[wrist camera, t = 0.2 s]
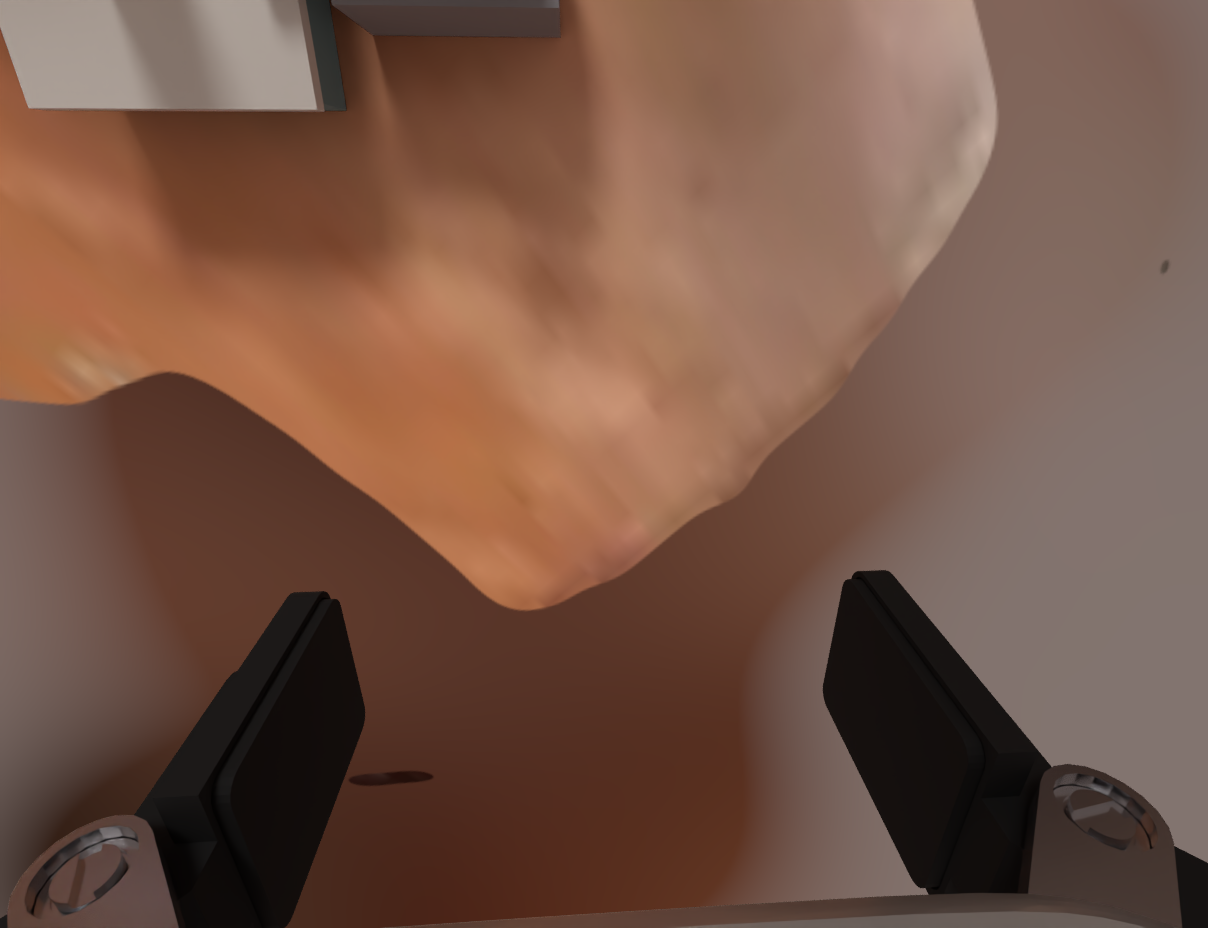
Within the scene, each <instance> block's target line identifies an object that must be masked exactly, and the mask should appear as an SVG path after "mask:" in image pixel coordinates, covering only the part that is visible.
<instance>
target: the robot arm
mask: <svg viewBox="0 0 1208 928" xmlns="http://www.w3.org/2000/svg"><path fill="white" fill-rule="evenodd" d="M823 696H824V700H825V704H826V706H827V708H828V710H829V712H830V715H831V716H832V718H833V721H834V723H835V725H836V727H837V729H838V731H839V733H840V735H841V737H842V739H843V741H844V743H845V745H846V747H847V749H848V751H849V753H850V755H851V757H852V759H853V761H854V763H855V765H856V767H857V769H858V771H859V773H860V775H861V777H862V779H863V781H864V783H865V785H866V788H867V789H868V791H869V793H870V796H871V798H872V800H873V802H874V804H875V806H876V808H877V810H878V812H879V814H880V816H881V818H882V820H883V822H884V824H885V826H886V828H887V830H888V832H889V834H890V836H891V838H892V840H893V842H894V844H895V846H896V848H897V850H898V852H899V854H900V857H901V859H902V861H903V863H904V864H905V867H906V869H907V871H908V873H909V875H910V877H911V878H912V880H913V882H914V883H915V884H916V885H917V886H918V887H920V888H926V890H927V892H928V894H929V895H910V896H884V897H865V898H847V899H830V900H812V901H795V902H778V903H761V904H742V905H725V906H709V907H694V908H678V909H661V910H645V911H629V912H614V913H599V914H582V915H566V916H551V917H536V918H520V919H506V920H491V921H477V922H462V923H450V924H449V923H448V924H434V925H419V926H405V927H391V928H1208V863H1207V862H1205V861H1203V860H1201V859H1199V858H1197V857H1195V856H1193V855H1191V854H1189V853H1187V852H1185V851H1183V850H1181V849H1179V848H1177V847H1175V846H1174V842H1173V839H1172V835H1171V832H1170V830H1169V827H1168V825H1167V824H1166V823H1165V821H1164V819H1163V818H1162V817H1161V815H1160V814H1159V812H1158V811H1157V810H1156V809H1155V808H1154V807H1153V806H1152V805H1151V804H1150V803H1149V802H1148V801H1147V800H1146V799H1145V798H1144V797H1143V796H1142V795H1140V794H1139V793H1137V792H1136V791H1134V790H1133V789H1132V788H1130V787H1129V786H1127V785H1126V784H1125V783H1123V782H1121V781H1119V780H1117V779H1115V778H1113V777H1111V776H1109V775H1107V774H1106V773H1103V772H1100V771H1097V770H1094V769H1091V768H1088V767H1085V766H1079V765H1071V764H1064V765H1058V766H1053V767H1051V766H1050V764H1049V763H1048V762H1047V761H1046V760H1045V758H1044V757H1043V756H1042V755H1041V753H1040V752H1039V751H1038V750H1037V749H1036V748H1035V746H1034V745H1033V744H1032V743H1031V741H1030V740H1029V739H1028V738H1027V737H1026V735H1025V734H1024V733H1023V732H1022V731H1021V729H1020V728H1019V727H1018V726H1017V724H1016V723H1015V722H1014V721H1013V720H1012V718H1011V717H1010V716H1009V715H1008V714H1007V713H1006V711H1005V710H1004V709H1003V708H1002V706H1001V705H1000V704H999V703H998V701H997V700H996V699H995V698H994V697H993V695H992V694H991V693H990V692H989V691H988V689H987V688H986V687H985V686H984V685H983V683H982V682H981V681H980V680H979V678H978V677H977V676H976V675H975V674H974V672H973V671H972V670H971V669H970V668H969V666H968V665H967V664H966V663H965V662H964V660H963V659H962V658H961V657H960V655H959V654H958V653H957V652H956V651H955V649H954V648H953V647H952V646H951V645H950V644H949V642H948V641H947V640H946V639H945V637H944V636H943V635H942V634H941V633H940V631H939V630H938V629H937V628H936V626H935V625H934V624H933V623H932V622H931V621H930V619H929V618H928V617H927V616H926V614H925V613H924V612H923V611H922V610H921V608H920V607H919V606H918V605H917V603H916V602H915V601H914V600H913V599H912V597H911V596H910V595H909V594H908V593H907V591H906V590H905V589H904V588H903V587H902V585H901V584H900V583H899V582H898V580H897V579H896V578H895V577H894V576H893V575H892V574H891V573H890V572H889V571H886V570H881V571H880V570H879V571H857V572H855V573H854V574H853V576H852V579H848V580H845V582H844V584H843V587H842V592H841V598H840V602H839V607H838V613H837V618H836V622H835V627H834V633H833V638H832V643H831V648H830V653H829V658H828V664H827V668H826V673H825V678H824V683H823ZM364 721H365V706H364V702H363V697H362V693H361V689H360V685H359V681H358V677H357V672H356V668H355V664H354V660H353V656H352V651H351V647H350V643H349V639H348V635H347V631H346V626H345V622H344V618H343V614H342V609H341V605H340V602H339V601H338V600H337V599H330V596H329V594H328V593H327V592H324V591H321V592H294V593H292V594H290V595H289V596H288V597H287V599H286V600H285V602H284V603H283V605H282V606H281V607H280V609H279V610H278V612H277V613H276V615H275V616H274V618H273V619H272V621H271V622H270V624H269V625H268V627H267V628H266V630H265V631H264V633H263V634H262V636H261V637H260V639H259V640H258V641H257V643H256V645H255V646H254V648H253V649H252V650H251V652H250V653H249V655H248V656H247V658H246V659H245V661H244V662H243V664H242V665H241V667H240V668H239V670H238V671H236V672H234V673H233V674H232V675H231V676H230V677H229V678H228V679H227V680H226V682H225V683H224V685H223V686H222V687H221V689H220V690H219V692H218V694H217V695H216V696H215V698H214V699H213V701H212V702H211V704H210V705H209V706H208V708H207V709H206V711H205V712H204V714H203V715H202V717H201V718H200V720H199V721H198V723H197V724H196V726H195V727H194V728H193V730H192V731H191V733H190V734H189V736H188V737H187V739H186V740H185V742H184V743H183V745H182V746H181V747H180V749H179V750H178V752H177V753H176V755H175V756H174V758H173V759H172V761H171V762H170V764H169V765H168V766H167V768H166V769H165V771H164V772H163V774H162V775H161V777H160V778H159V779H158V781H157V782H156V784H155V785H154V787H153V788H152V790H151V792H150V793H149V794H148V796H147V797H146V798H145V800H144V802H143V803H142V804H141V806H140V807H139V809H138V810H137V812H136V813H135V815H117V816H112V817H108V818H104V819H99V820H97V821H95V822H92V823H90V824H88V825H85V826H83V827H81V828H79V829H77V830H75V831H74V832H72V833H70V834H69V835H67V836H66V837H64V838H62V839H61V840H59V841H57V842H56V843H55V844H54V845H53V846H52V847H50V848H49V849H48V850H47V851H45V852H44V853H43V854H42V855H41V856H39V857H38V858H37V859H36V860H35V862H34V863H33V864H32V865H31V866H30V867H29V868H28V870H27V871H26V872H25V873H24V874H23V875H22V876H21V878H20V880H19V882H18V883H17V885H16V887H15V889H14V890H13V892H12V894H11V896H10V901H9V906H8V911H7V915H5V916H4V917H2V918H0V928H285V927H286V926H287V925H288V923H289V922H290V920H291V918H292V915H293V913H294V910H295V908H296V905H297V903H298V900H299V897H300V895H301V892H302V889H303V886H304V884H305V881H306V879H307V876H308V873H309V871H310V868H311V865H312V863H313V860H314V857H315V854H316V852H317V849H318V846H319V844H320V841H321V839H322V836H323V833H324V831H325V828H326V825H327V823H328V820H329V817H330V815H331V812H332V809H333V807H334V804H335V801H336V799H337V795H338V793H339V790H340V788H341V785H342V782H343V780H344V777H345V775H346V772H347V769H348V766H349V764H350V761H351V758H352V756H353V753H354V750H355V747H356V745H357V742H358V740H359V737H360V734H361V732H362V729H363V726H364Z"/></svg>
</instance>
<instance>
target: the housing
mask: <svg viewBox="0 0 1208 928" xmlns="http://www.w3.org/2000/svg"><path fill="white" fill-rule="evenodd" d="M331 3H332V5H333V6H334V7H336V8H337V9H338V10H340V11H341V12H342V13H344V14H345V15H346V16H348V17H349V18H350V19H352V20H353V21H354V22H356V23H357V24H358V25H360V26H361V27H362V28H364V29H365V30H366V31H368V32H369V33H370V34H372V35H386V36H473V37H560V38H561V36H560V0H331ZM306 4H307V10H308V16H309V22H310V28H311V34H312V40H313V45H314V51H315V57H316V63H317V69H318V75H319V81H320V86H321V92H322V98H323V104H324V110H325V111H347V110H346V104H345V97H344V91H343V85H342V78H341V72H340V66H339V59H338V53H337V47H336V40H335V34H334V28H333V21H332V15H331V8H330V2H329V0H306Z"/></svg>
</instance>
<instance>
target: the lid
mask: <svg viewBox="0 0 1208 928" xmlns="http://www.w3.org/2000/svg"><path fill="white" fill-rule="evenodd" d="M0 28H1V31H2V34H3V37H4V39H5V42H6V45H7V48H8V51H9V54H10V57H11V59H12V62H13V65H14V68H15V71H16V74H17V76H18V79H19V82H20V85H21V88H22V91H23V94H24V96H25V99H26V102H27V105H28V108H31V109H39V110H55V111H242V112H325V110H324V104H323V98H322V92H321V86H320V81H319V75H318V69H317V63H316V57H315V51H314V45H313V40H312V34H311V28H310V22H309V16H308V10H307V4H306V0H0Z"/></svg>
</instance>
